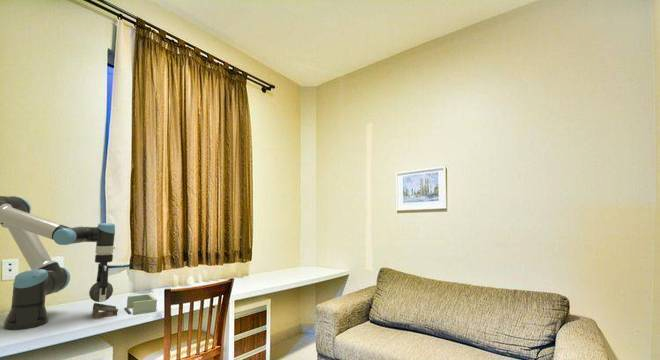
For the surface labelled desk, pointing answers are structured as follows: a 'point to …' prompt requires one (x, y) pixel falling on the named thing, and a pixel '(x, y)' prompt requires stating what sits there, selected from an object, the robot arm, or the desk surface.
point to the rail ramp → (104, 310)
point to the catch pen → (142, 303)
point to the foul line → (127, 310)
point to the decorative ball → (95, 291)
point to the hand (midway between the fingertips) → (100, 299)
